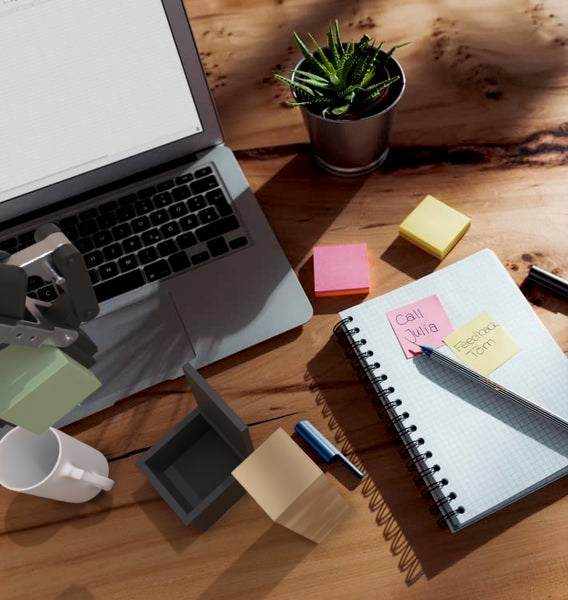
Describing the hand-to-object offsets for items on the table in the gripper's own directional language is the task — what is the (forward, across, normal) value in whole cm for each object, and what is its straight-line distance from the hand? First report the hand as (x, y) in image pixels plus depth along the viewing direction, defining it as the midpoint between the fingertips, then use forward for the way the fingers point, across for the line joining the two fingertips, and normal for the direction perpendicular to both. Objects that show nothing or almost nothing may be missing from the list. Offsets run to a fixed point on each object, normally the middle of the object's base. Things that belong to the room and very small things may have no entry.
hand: (48, 383), depth 41 cm
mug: (+39, +10, -10) cm, 41 cm away
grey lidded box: (+38, 0, -1) cm, 38 cm away
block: (0, 0, 0) cm, 0 cm away
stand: (+38, -6, +11) cm, 40 cm away
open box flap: (+26, -5, -1) cm, 27 cm away
